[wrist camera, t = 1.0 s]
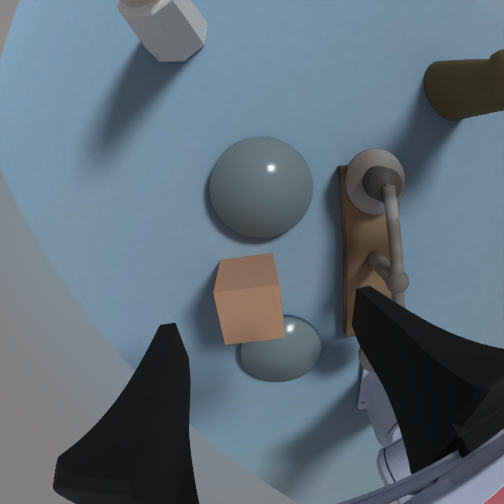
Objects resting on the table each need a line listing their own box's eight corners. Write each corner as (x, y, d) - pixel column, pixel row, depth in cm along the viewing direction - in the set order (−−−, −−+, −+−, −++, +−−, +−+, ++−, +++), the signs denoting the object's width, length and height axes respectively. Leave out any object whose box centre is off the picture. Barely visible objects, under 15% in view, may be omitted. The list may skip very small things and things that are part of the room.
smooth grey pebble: (319, 369, 31) (321, 375, 30) (246, 379, 31) (247, 385, 30) (318, 309, 28) (320, 314, 27) (234, 320, 28) (234, 326, 27)
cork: (439, 128, 22) (525, 134, 11) (413, 68, 20) (494, 44, 10) (477, 111, 21) (558, 115, 11) (454, 56, 19) (532, 38, 9)
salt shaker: (153, 74, 20) (91, 34, 10) (138, 24, 18) (79, -30, 8) (217, 50, 20) (196, -12, 9) (199, 1, 18) (171, -72, 8)
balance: (387, 331, 29) (419, 382, 21) (341, 340, 29) (365, 397, 21) (391, 147, 23) (448, 153, 15) (335, 149, 23) (377, 154, 15)
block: (277, 298, 27) (285, 337, 22) (228, 304, 27) (225, 344, 22) (272, 252, 26) (279, 284, 20) (220, 259, 26) (213, 292, 20)
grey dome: (314, 227, 25) (316, 231, 24) (219, 240, 25) (218, 244, 24) (304, 132, 22) (306, 131, 21) (203, 145, 22) (201, 145, 22)
